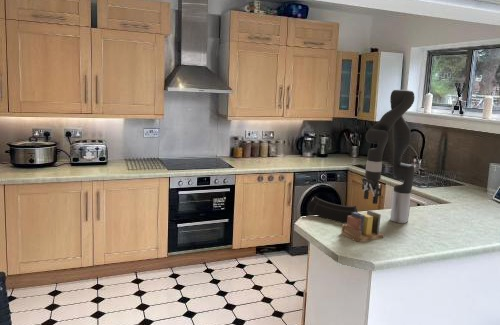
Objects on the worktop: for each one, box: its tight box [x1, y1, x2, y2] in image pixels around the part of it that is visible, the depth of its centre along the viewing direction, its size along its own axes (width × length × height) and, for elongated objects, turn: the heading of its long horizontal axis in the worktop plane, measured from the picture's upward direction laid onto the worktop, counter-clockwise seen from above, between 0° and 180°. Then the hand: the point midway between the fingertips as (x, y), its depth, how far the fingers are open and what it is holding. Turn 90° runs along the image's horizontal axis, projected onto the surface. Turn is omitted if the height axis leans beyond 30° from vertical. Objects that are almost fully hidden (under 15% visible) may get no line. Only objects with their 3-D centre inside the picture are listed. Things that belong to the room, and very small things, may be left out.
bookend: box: [366, 210, 382, 234], centre depth 212 cm, size 1×8×10 cm, turn 30°
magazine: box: [306, 195, 359, 224], centre depth 233 cm, size 17×3×30 cm
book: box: [361, 213, 373, 235], centre depth 209 cm, size 4×6×9 cm, turn 29°
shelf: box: [340, 211, 384, 243], centre depth 209 cm, size 17×12×12 cm
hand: (370, 201), depth 209 cm, fingers open, 8 cm apart
